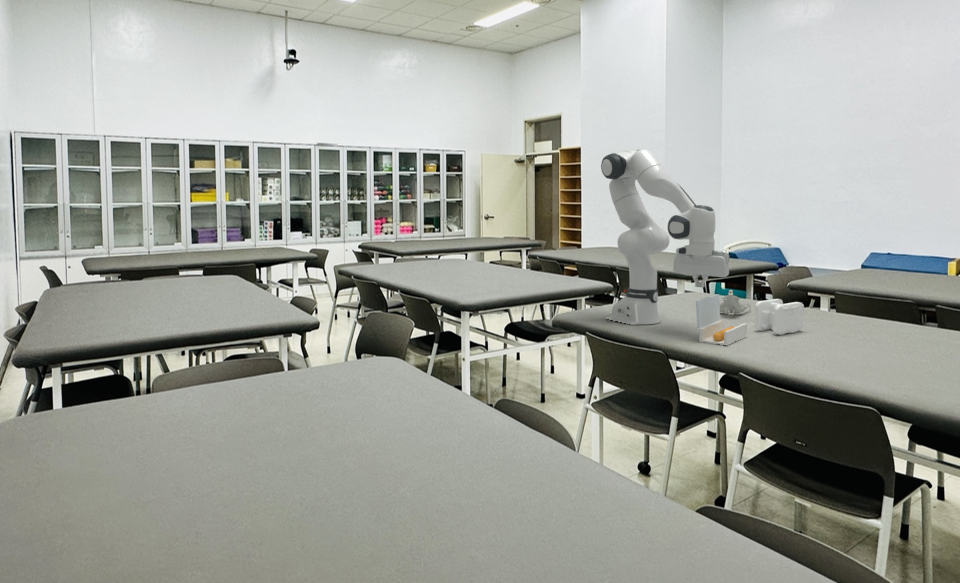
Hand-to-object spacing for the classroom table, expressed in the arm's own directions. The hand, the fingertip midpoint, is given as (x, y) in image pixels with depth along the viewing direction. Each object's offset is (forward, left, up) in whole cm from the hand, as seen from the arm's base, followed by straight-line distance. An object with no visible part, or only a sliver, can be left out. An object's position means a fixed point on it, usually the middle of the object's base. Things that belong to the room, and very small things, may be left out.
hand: (699, 286), depth 236 cm
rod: (+11, 0, -18) cm, 21 cm away
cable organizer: (+21, +25, -19) cm, 37 cm away
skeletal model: (-7, +47, -19) cm, 51 cm away
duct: (+10, 0, -19) cm, 21 cm away
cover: (+4, 0, -9) cm, 10 cm away
